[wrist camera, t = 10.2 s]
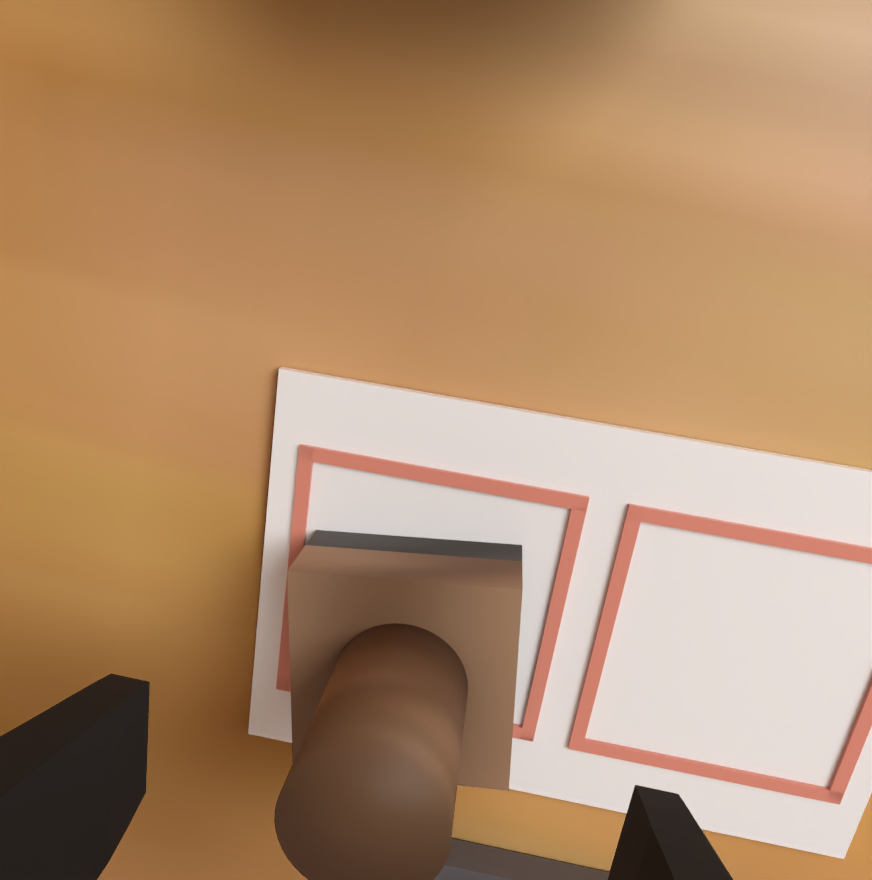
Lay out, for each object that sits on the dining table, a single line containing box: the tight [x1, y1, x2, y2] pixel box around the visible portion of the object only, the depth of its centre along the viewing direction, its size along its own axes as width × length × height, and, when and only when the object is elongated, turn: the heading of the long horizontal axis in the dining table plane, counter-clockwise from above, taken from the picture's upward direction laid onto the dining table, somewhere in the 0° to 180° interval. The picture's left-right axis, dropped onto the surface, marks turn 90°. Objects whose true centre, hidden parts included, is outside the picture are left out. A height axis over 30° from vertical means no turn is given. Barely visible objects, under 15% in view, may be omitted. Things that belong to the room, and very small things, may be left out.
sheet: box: [248, 367, 872, 859], centre depth 15 cm, size 14×9×1 cm, turn 82°
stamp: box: [274, 530, 523, 880], centre depth 13 cm, size 4×4×6 cm
